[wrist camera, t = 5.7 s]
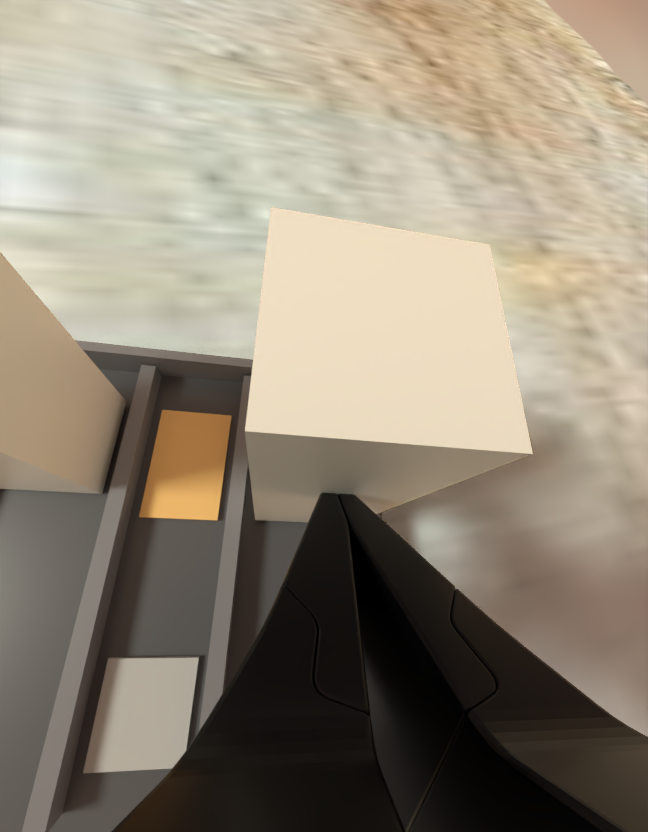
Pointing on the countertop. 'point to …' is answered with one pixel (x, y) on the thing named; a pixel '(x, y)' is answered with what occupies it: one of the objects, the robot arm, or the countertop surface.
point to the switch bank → (131, 596)
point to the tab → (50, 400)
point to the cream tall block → (376, 367)
